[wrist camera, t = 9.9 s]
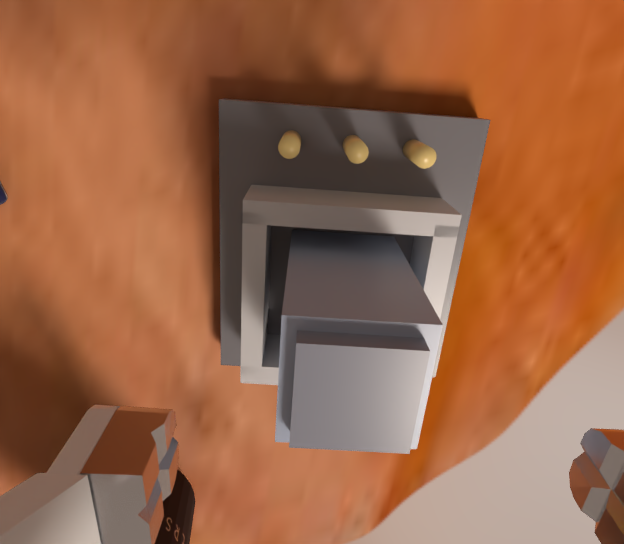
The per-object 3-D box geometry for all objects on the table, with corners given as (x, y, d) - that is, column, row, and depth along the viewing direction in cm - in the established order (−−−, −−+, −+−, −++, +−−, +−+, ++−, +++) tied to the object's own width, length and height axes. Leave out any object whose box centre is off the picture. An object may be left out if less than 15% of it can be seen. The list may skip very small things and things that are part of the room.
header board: (224, 98, 17) (203, 101, 13) (478, 117, 17) (519, 125, 14) (225, 350, 21) (209, 400, 18) (428, 362, 21) (450, 413, 18)
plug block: (292, 229, 17) (280, 327, 10) (394, 236, 18) (450, 337, 11) (286, 320, 19) (273, 458, 12) (380, 325, 19) (421, 466, 12)
